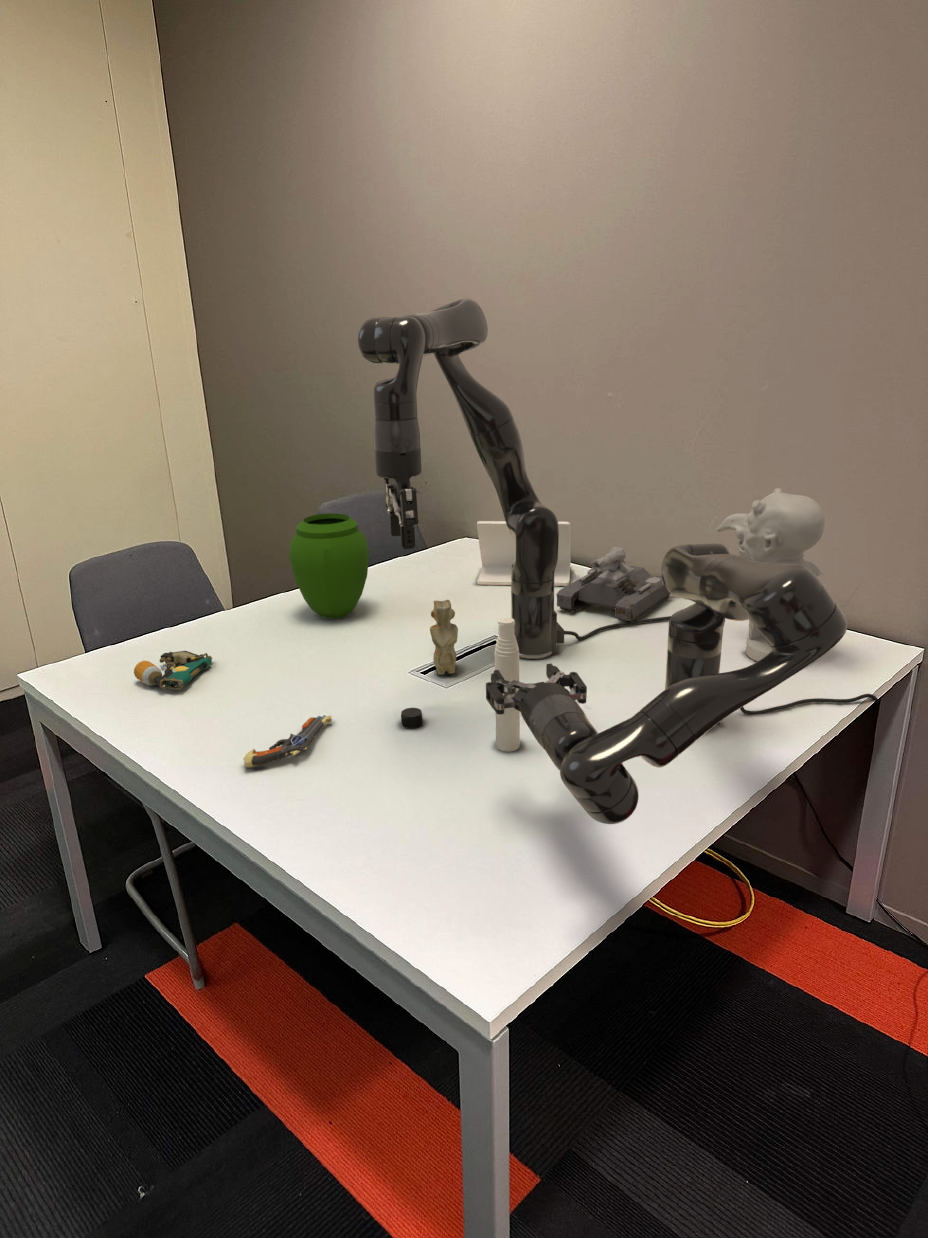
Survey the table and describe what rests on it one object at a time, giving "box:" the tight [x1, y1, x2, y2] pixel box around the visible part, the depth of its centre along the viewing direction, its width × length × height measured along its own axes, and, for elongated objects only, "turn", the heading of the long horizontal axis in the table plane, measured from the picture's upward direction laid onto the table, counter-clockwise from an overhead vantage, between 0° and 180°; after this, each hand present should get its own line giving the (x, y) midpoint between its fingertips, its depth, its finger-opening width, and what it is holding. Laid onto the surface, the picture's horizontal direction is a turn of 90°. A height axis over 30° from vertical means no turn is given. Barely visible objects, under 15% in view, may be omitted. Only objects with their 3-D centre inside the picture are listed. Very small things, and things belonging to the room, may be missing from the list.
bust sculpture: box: [715, 487, 826, 662], centre depth 180 cm, size 16×24×35 cm
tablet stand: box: [476, 520, 572, 587], centre depth 236 cm, size 18×25×17 cm
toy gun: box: [243, 714, 333, 769], centre depth 151 cm, size 3×19×10 cm
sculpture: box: [429, 599, 459, 675], centre depth 177 cm, size 6×7×15 cm
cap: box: [400, 707, 424, 729], centre depth 157 cm, size 4×4×2 cm
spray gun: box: [133, 650, 213, 690], centre depth 180 cm, size 4×17×15 cm
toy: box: [556, 546, 671, 623], centre depth 212 cm, size 25×20×15 cm
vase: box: [288, 512, 370, 620], centre depth 209 cm, size 20×20×24 cm
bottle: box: [494, 617, 521, 752], centre depth 145 cm, size 4×4×24 cm
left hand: (402, 541), depth 145 cm, fingers open, 8 cm apart
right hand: (522, 672), depth 132 cm, fingers open, 8 cm apart
